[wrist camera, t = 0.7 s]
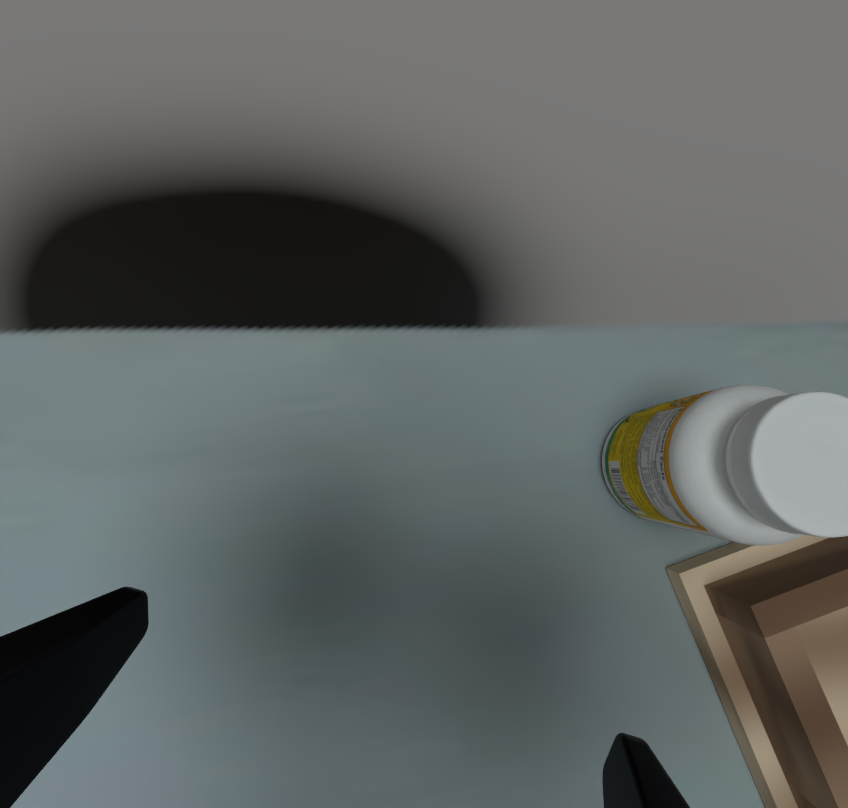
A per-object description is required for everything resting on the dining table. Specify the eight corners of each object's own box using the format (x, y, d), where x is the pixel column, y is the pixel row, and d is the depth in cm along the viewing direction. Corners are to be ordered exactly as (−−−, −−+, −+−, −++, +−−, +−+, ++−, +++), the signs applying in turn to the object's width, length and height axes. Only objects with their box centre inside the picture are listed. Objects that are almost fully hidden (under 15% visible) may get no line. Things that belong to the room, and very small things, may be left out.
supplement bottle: (582, 493, 22) (696, 514, 13) (621, 390, 23) (759, 335, 13) (691, 540, 22) (893, 598, 12) (728, 434, 22) (949, 411, 13)
